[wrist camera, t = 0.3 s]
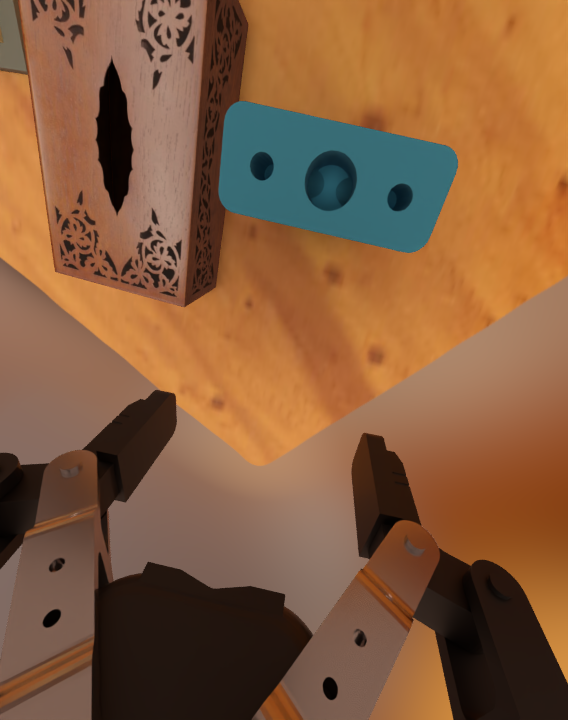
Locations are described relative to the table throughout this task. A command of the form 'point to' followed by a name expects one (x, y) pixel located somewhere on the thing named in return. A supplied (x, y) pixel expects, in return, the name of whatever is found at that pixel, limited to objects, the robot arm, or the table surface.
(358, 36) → the table surface
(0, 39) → the ochre block
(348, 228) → the block
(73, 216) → the tissue box cover
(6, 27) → the felt mat
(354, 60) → the table surface
